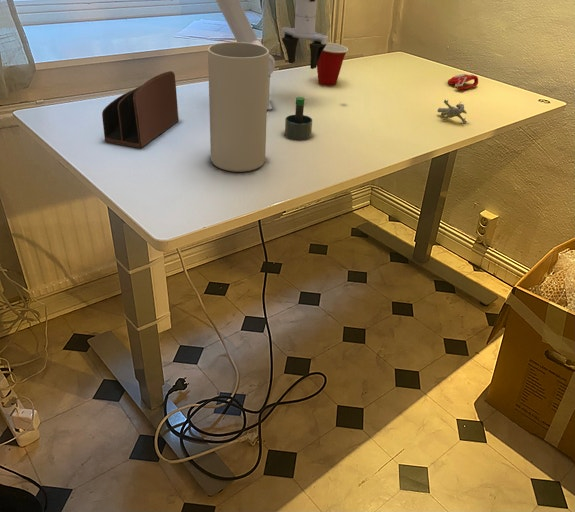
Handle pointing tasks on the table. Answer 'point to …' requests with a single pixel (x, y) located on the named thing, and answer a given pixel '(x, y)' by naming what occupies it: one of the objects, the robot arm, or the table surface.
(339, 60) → the plastic cup
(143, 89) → the letter holder
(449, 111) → the grey toy animal
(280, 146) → the table surface
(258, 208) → the table surface
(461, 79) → the keychain holder
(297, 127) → the tumbler
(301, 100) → the marker
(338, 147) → the table surface
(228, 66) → the cylinder vase
